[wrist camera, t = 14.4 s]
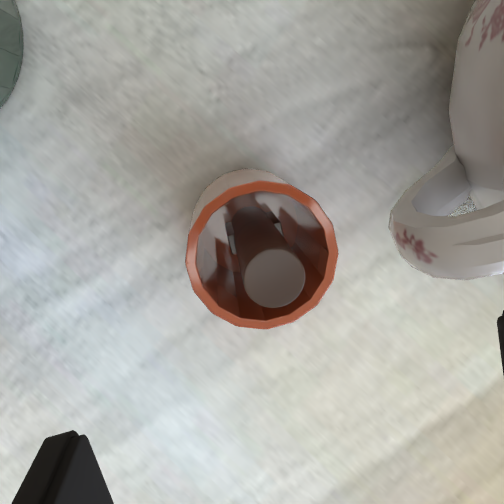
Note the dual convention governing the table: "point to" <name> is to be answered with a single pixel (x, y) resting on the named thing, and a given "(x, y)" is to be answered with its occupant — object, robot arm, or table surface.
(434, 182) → the chamber pot
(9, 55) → the pot
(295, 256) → the brown cylindrical rod
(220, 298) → the utensil cup
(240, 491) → the table surface
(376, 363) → the table surface
